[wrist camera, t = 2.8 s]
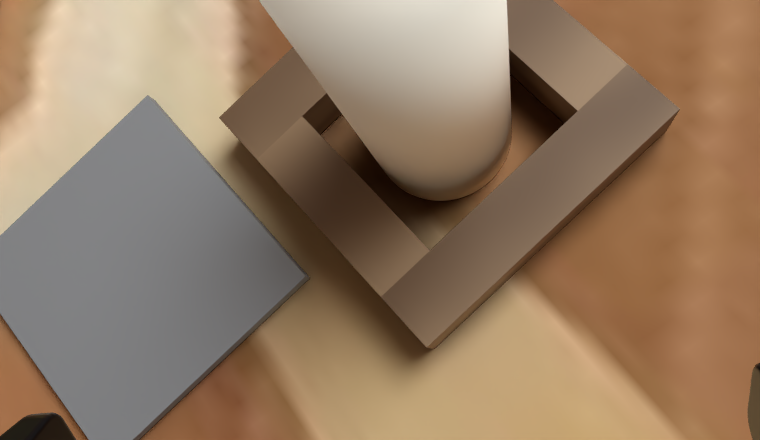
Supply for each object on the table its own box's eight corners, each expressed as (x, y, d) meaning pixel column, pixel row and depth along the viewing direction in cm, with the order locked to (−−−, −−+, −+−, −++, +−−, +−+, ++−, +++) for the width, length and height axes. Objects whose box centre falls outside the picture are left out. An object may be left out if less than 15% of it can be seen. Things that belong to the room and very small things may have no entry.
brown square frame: (666, 130, 23) (679, 109, 21) (434, 348, 23) (426, 347, 21) (448, -60, 25) (441, -95, 23) (241, 135, 25) (219, 117, 23)
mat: (310, 278, 24) (305, 276, 23) (114, 462, 24) (106, 464, 24) (154, 100, 26) (147, 95, 26) (-23, 268, 26) (-33, 267, 26)
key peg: (541, 132, 23) (562, -90, 12) (438, 229, 23) (358, 103, 12) (444, 42, 25) (377, -240, 13) (347, 134, 25) (192, -65, 13)
